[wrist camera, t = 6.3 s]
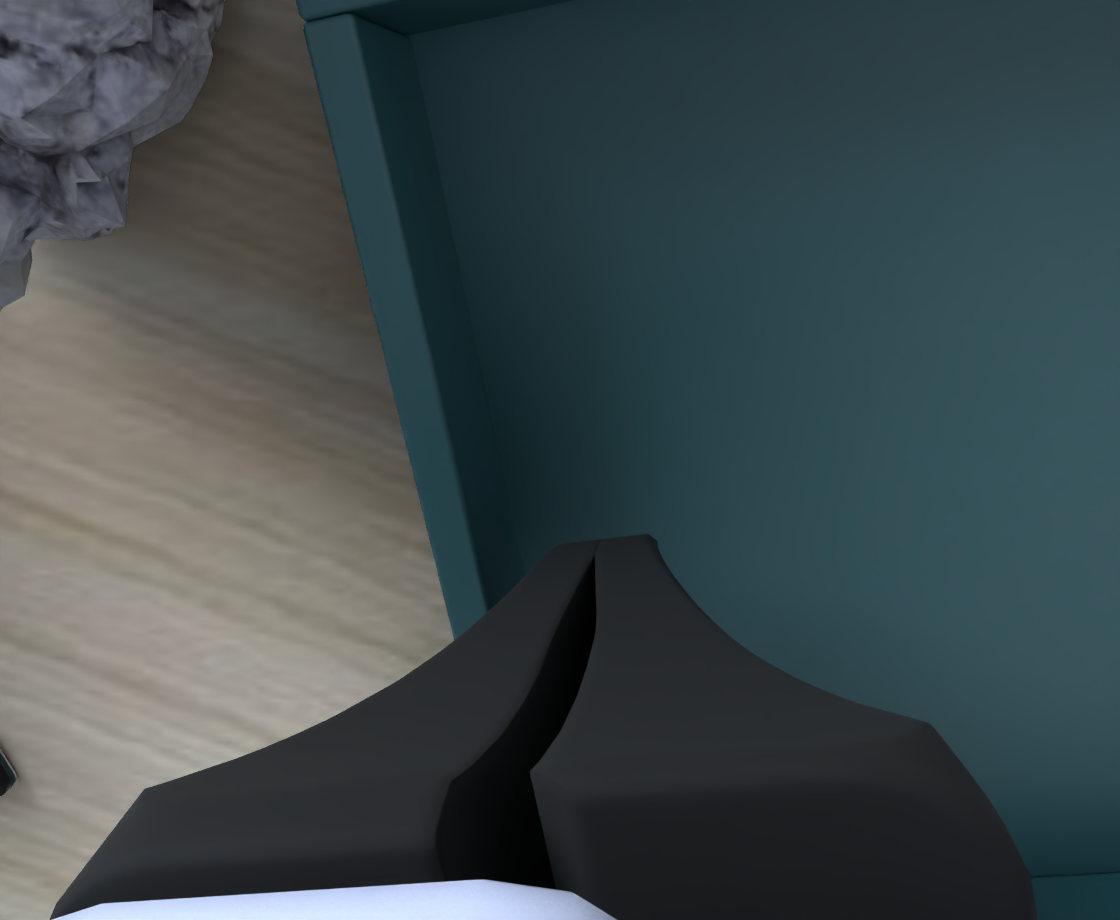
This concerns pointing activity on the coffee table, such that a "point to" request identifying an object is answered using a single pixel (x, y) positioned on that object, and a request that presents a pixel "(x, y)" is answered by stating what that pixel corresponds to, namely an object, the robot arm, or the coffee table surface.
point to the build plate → (6, 774)
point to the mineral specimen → (86, 111)
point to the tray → (776, 340)
